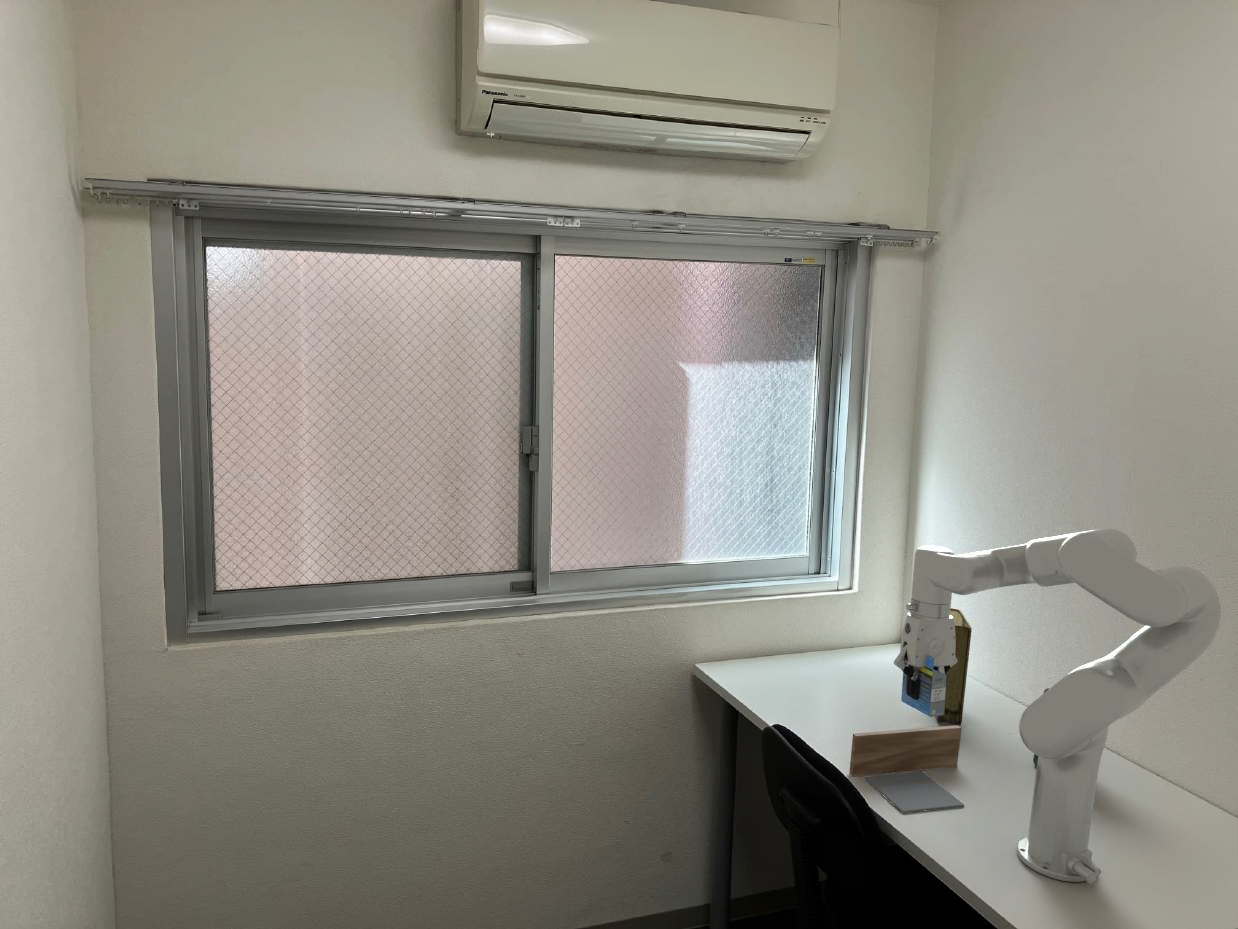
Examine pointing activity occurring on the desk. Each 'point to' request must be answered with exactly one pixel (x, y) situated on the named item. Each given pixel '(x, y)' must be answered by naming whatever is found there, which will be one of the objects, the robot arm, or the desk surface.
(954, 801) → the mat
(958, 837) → the desk surface
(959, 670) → the book
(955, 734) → the walnut screen
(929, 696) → the label tape box
